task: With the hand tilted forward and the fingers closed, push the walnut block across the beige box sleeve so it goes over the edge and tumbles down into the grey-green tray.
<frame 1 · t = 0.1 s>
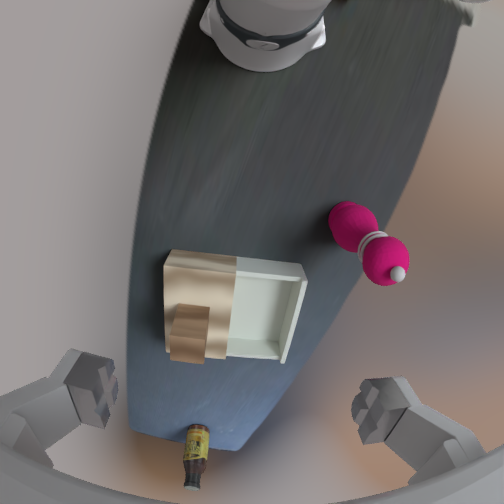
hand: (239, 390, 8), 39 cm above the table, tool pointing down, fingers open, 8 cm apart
pepper mill: (345, 218, 48), on the table
tray: (261, 304, 54), on the table
walnut block: (193, 317, 47), point 6 cm above the table, touching beige box sleeve
sauce bottle: (198, 428, 72), on the table
beige box sleeve: (200, 297, 53), on the table
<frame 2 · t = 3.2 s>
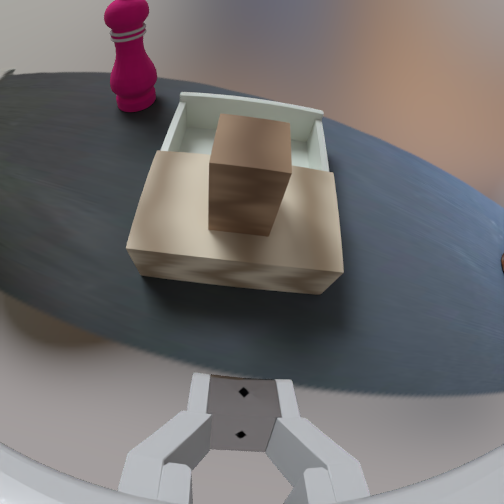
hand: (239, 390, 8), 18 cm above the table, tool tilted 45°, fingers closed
pepper mill: (136, 102, 40), on the table
tray: (243, 160, 36), on the table
walnut block: (241, 208, 25), point 6 cm above the table, touching beige box sleeve
beige box sleeve: (235, 236, 31), on the table
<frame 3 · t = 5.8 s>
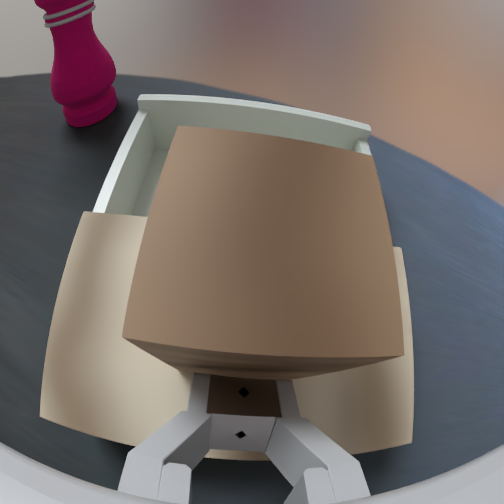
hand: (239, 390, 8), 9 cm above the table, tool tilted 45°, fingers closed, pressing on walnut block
pepper mill: (91, 111, 26), on the table
tray: (243, 206, 23), on the table
walnut block: (240, 319, 13), point 6 cm above the table, touching beige box sleeve, gripper
beige box sleeve: (230, 353, 18), on the table
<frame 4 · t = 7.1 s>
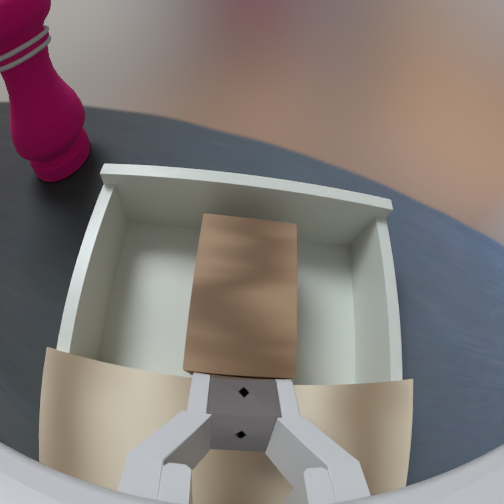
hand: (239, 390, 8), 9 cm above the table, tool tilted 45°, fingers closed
pepper mill: (63, 159, 23), on the table
tray: (234, 300, 19), on the table
walnut block: (235, 377, 14), point 3 cm above the table, tilted 90°, touching tray
beige box sleeve: (222, 464, 14), on the table
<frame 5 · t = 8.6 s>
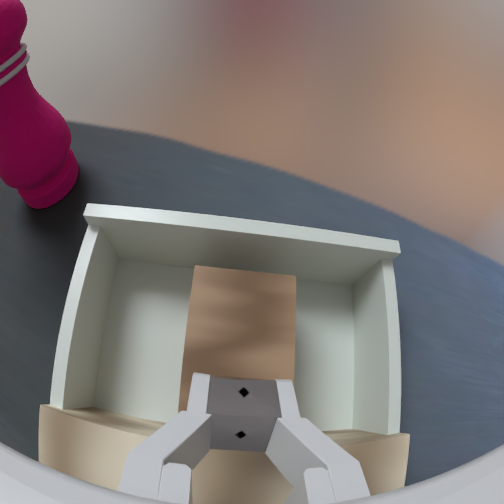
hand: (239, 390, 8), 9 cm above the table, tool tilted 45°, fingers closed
pepper mill: (51, 182, 22), on the table
tray: (230, 344, 18), on the table
walnut block: (230, 431, 13), point 3 cm above the table, tilted 90°, touching tray
beige box sleeve: (218, 502, 13), on the table
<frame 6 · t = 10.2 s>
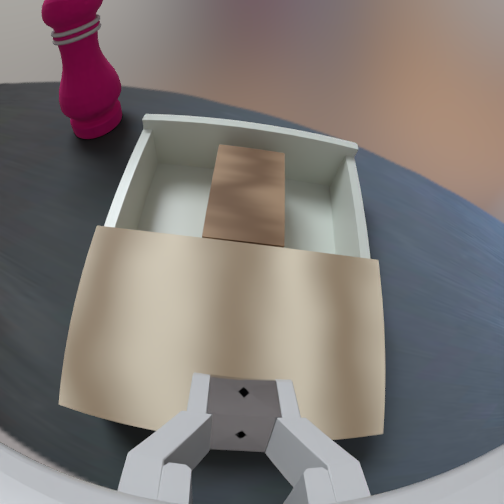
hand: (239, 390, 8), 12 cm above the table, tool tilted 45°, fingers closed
pepper mill: (98, 123, 29), on the table
tray: (239, 218, 25), on the table
walnut block: (239, 258, 20), point 3 cm above the table, tilted 90°, touching tray
beige box sleeve: (225, 350, 20), on the table
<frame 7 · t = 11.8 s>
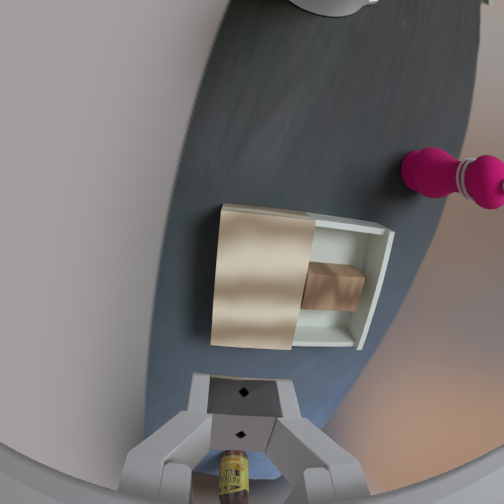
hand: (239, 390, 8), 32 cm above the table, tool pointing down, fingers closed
pepper mill: (416, 170, 39), on the table
tray: (330, 276, 43), on the table
walnut block: (300, 284, 39), point 3 cm above the table, tilted 90°, touching tray
sauce bottle: (233, 455, 55), on the table
beige box sleeve: (256, 270, 42), on the table
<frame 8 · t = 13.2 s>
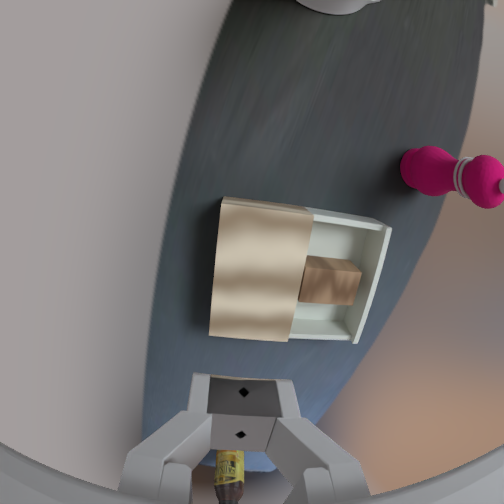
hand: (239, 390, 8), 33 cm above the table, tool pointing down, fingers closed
pepper mill: (415, 168, 39), on the table
tray: (327, 270, 44), on the table
walnut block: (298, 277, 40), point 3 cm above the table, tilted 90°, touching tray
sauce bottle: (229, 446, 57), on the table
beige box sleeve: (255, 263, 43), on the table
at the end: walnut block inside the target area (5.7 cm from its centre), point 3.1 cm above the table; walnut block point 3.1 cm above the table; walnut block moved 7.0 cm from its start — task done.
